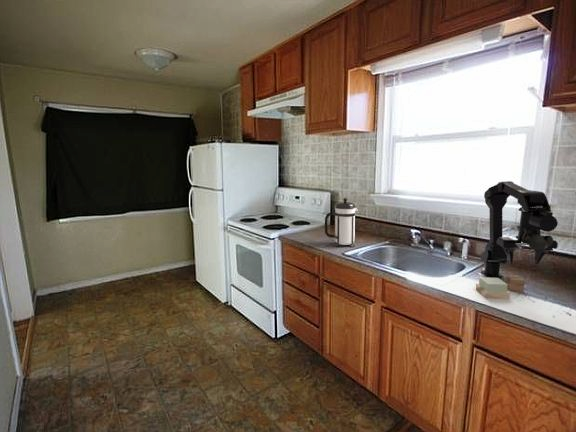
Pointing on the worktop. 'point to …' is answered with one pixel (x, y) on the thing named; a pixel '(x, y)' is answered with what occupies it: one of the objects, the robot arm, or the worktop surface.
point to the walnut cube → (514, 282)
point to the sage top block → (493, 284)
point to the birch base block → (492, 293)
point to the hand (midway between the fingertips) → (523, 263)
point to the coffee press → (343, 223)
